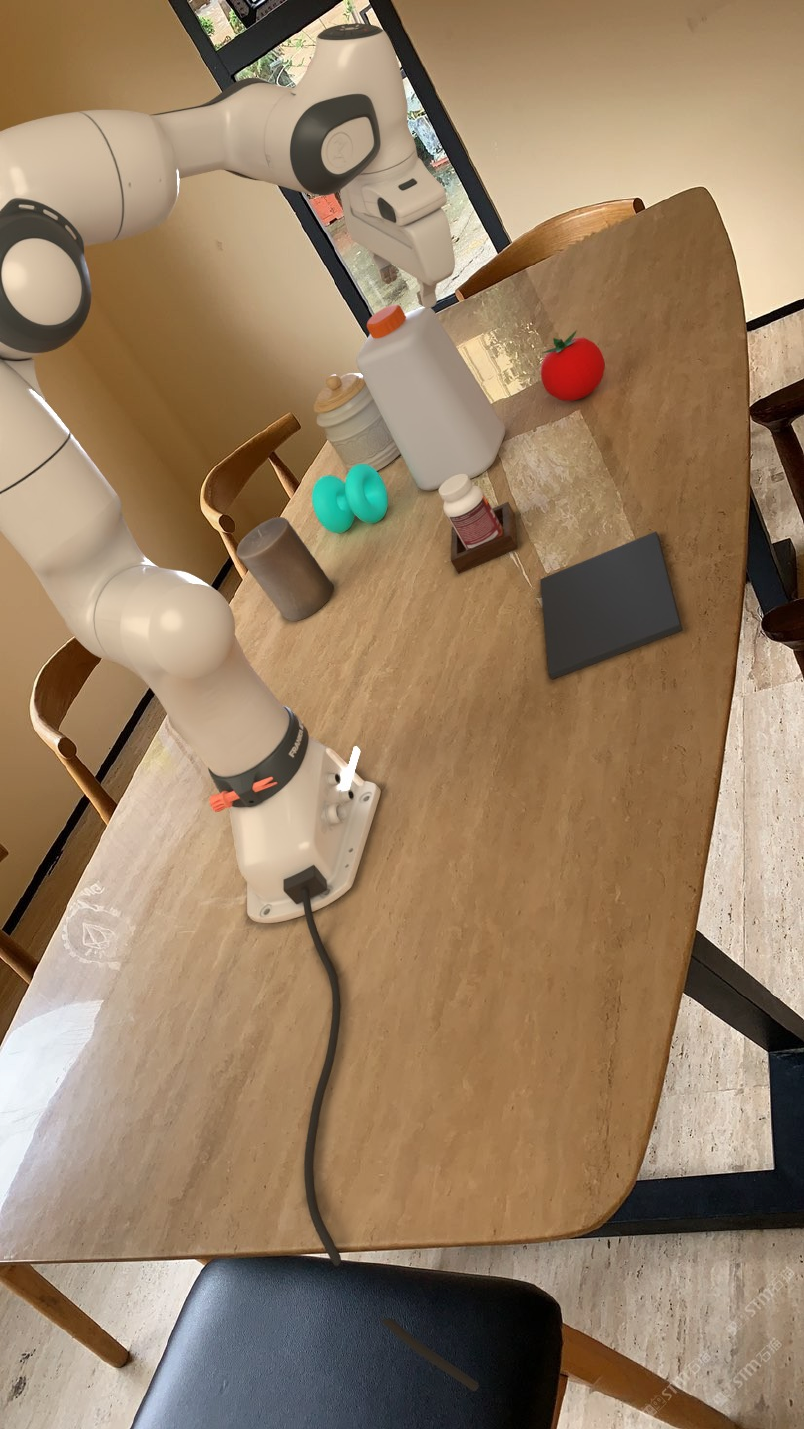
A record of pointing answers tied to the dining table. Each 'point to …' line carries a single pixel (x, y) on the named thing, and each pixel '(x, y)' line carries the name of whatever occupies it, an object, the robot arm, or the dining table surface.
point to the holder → (486, 543)
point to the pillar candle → (285, 569)
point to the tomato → (572, 368)
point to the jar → (354, 423)
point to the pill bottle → (469, 511)
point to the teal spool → (350, 498)
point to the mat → (608, 606)
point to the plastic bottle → (428, 397)
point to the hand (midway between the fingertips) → (408, 292)
